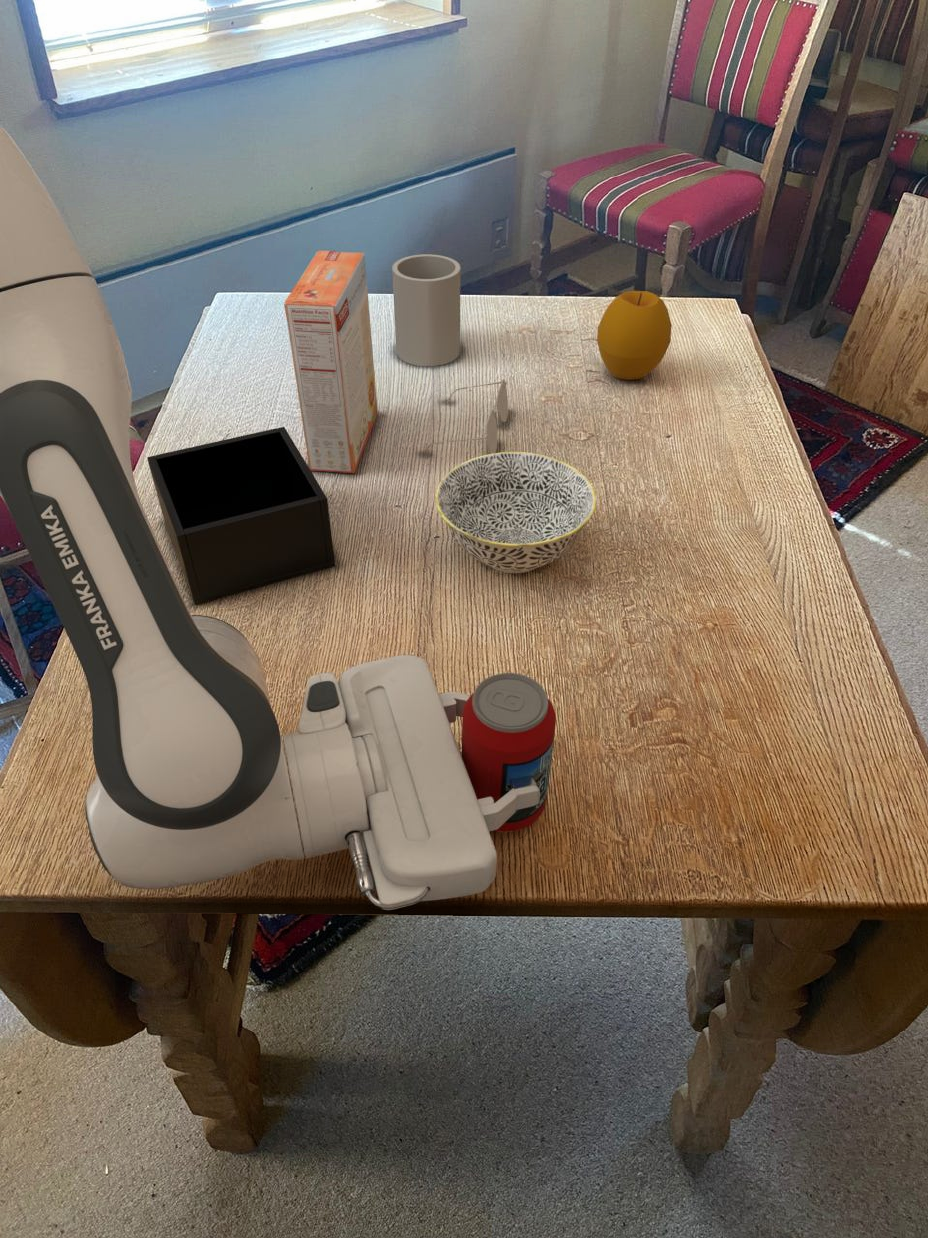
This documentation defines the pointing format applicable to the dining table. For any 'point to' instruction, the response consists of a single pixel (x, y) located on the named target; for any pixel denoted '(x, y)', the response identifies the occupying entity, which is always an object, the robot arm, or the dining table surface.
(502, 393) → the sunglasses
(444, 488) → the bowl
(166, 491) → the black open box
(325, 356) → the cracker box
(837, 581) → the dining table surface
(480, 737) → the beverage can
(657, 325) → the apple
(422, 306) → the cup
